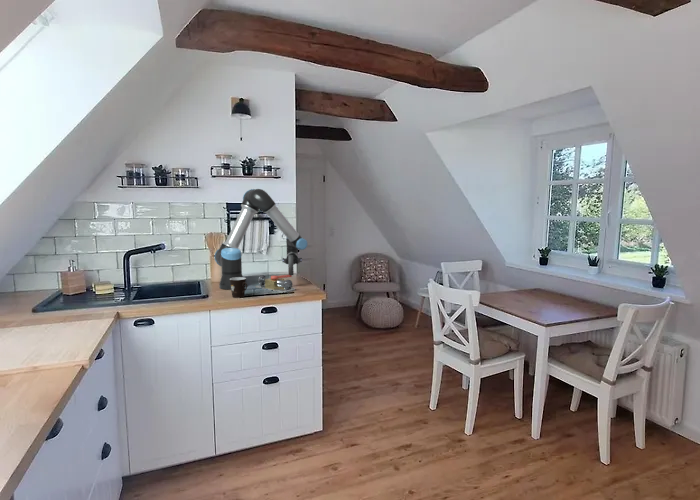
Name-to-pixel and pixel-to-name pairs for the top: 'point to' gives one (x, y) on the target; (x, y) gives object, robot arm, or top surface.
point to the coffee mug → (238, 287)
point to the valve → (275, 284)
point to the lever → (290, 269)
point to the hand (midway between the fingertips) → (292, 263)
